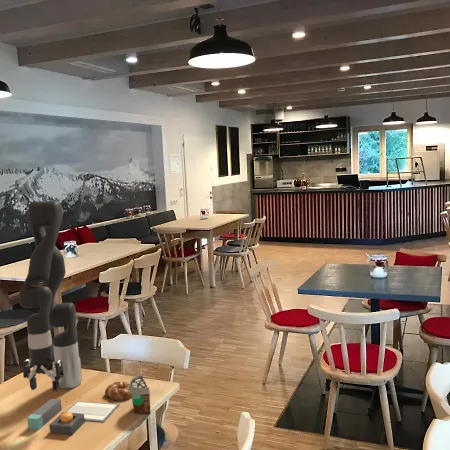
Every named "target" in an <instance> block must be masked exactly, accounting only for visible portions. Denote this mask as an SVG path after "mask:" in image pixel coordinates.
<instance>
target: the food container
mask: <svg viewBox="0 0 450 450" xmlns="http://www.w3.org/2000/svg"><path fill="white" fill-rule="evenodd" d="M128 384H129V388H128V389H129V391H130V392H131V396H132V397H131V401H132V408H133V409H132V410H133V412H134V413H135V414H138V415H151V400H150V399H151V398H150V393H151V392H150V391H151V390H150V387H148V385H147V383H146V381H145V379H144V375H143V374H140V375H137V376H135V377H133V378H132V379H130V381H129V382H128Z"/></svg>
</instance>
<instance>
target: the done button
mask: <svg viewBox="0 0 450 450" xmlns="http://www.w3.org/2000/svg"><path fill="white" fill-rule="evenodd" d="M62 413H63V412H62ZM62 413H61V423H70V422H71V421H72V420H73V414H72V412H66V411H65V413H63V414H62Z"/></svg>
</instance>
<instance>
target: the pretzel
mask: <svg viewBox="0 0 450 450" xmlns="http://www.w3.org/2000/svg"><path fill="white" fill-rule="evenodd" d="M128 388H129V382H128V381H115V382H113V383H112V384H109V385H108V386H107V387H106V388H105V390H104V395H105V397H106V398H107V399H111V400H115V401H123V400H125V401H126V399H127V400H130V399H132V396H131V392H130V391H129V389H128Z"/></svg>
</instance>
